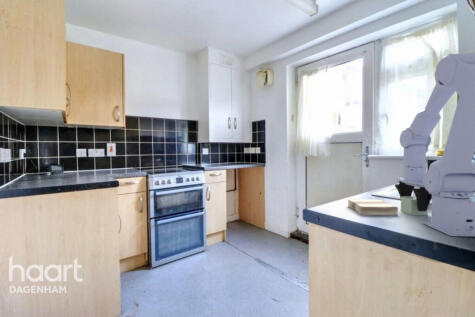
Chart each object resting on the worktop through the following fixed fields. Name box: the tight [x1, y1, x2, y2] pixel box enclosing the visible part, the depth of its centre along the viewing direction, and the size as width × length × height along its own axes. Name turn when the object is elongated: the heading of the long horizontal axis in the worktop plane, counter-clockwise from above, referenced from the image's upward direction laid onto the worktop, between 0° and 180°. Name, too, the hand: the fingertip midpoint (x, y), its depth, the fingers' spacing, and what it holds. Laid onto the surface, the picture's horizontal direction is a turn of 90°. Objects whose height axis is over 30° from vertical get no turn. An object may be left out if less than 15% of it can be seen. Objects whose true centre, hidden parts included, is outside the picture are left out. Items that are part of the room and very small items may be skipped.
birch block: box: [347, 198, 399, 216], centre depth 78 cm, size 11×11×3 cm
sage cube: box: [400, 195, 429, 216], centre depth 74 cm, size 5×5×5 cm
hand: (413, 207), depth 74 cm, fingers open, 7 cm apart
